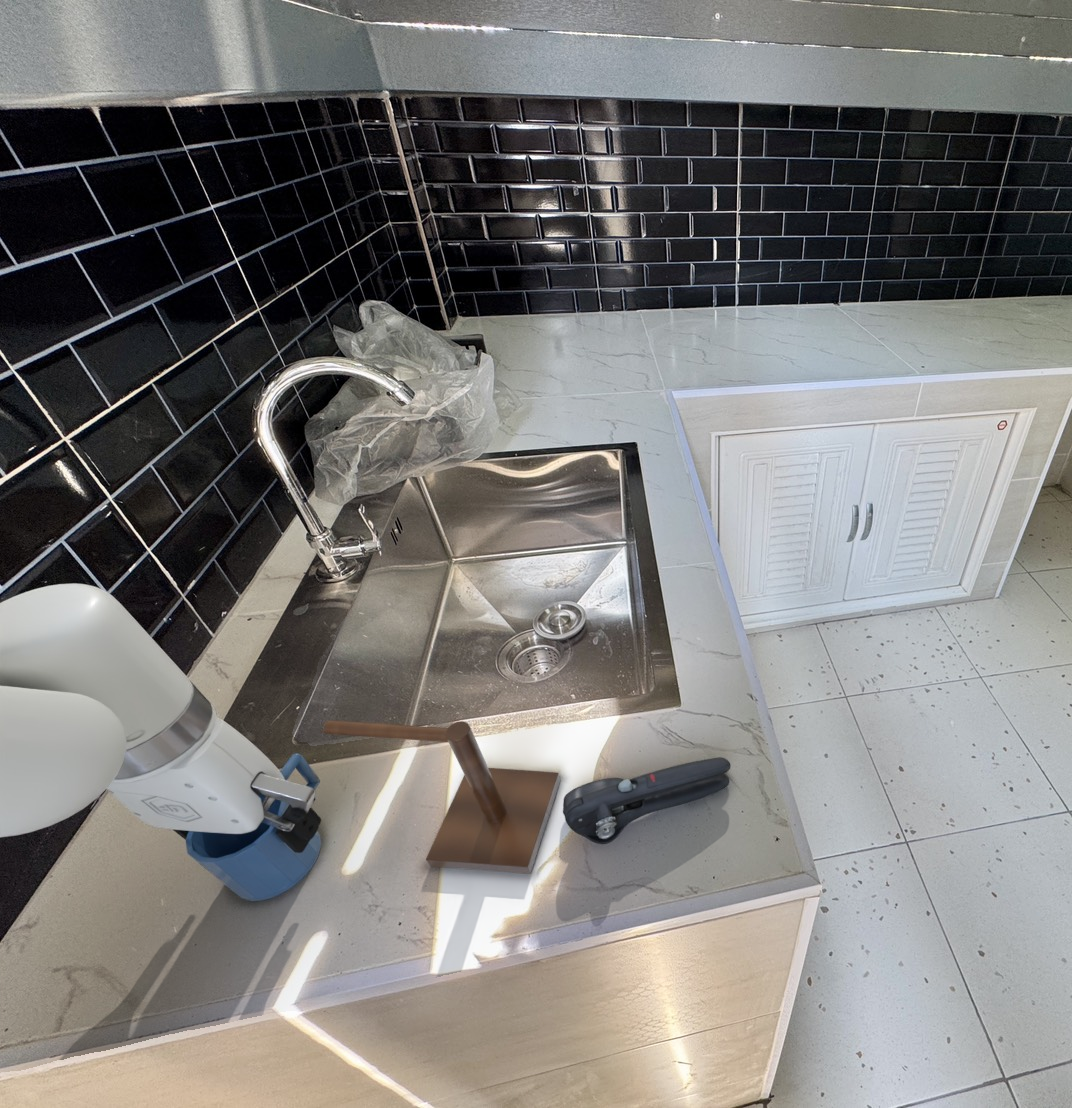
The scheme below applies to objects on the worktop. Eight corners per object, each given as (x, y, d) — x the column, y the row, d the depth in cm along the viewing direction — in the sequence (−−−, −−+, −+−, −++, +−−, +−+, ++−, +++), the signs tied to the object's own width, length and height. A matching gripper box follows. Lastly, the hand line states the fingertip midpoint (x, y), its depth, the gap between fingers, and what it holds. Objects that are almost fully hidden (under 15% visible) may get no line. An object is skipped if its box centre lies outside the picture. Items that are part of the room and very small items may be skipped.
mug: (290, 904, 56) (247, 865, 51) (213, 898, 56) (164, 858, 51) (358, 789, 65) (327, 747, 60) (291, 785, 65) (256, 742, 60)
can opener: (570, 863, 59) (561, 835, 56) (563, 799, 64) (554, 770, 61) (741, 809, 64) (742, 781, 60) (721, 754, 69) (721, 725, 65)
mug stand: (530, 874, 58) (491, 787, 48) (360, 861, 59) (287, 773, 49) (560, 779, 66) (532, 688, 56) (410, 769, 67) (355, 677, 57)
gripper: (-13, 764, 43) (137, 867, 54) (221, 781, 42) (324, 882, 53) (81, 680, 49) (200, 788, 60) (289, 694, 48) (370, 801, 59)
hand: (258, 832), depth 56 cm, fingers open, 9 cm apart
